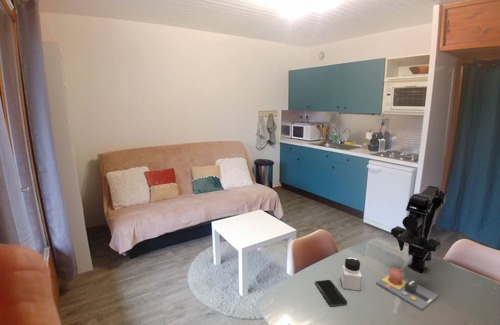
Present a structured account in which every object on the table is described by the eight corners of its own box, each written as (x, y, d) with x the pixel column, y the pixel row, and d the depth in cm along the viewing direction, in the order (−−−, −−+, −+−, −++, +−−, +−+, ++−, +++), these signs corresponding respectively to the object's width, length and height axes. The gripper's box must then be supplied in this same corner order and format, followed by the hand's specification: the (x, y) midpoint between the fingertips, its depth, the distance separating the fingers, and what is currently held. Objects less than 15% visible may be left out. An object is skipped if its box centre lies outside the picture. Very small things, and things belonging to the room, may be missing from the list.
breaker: (408, 286, 116) (410, 278, 115) (416, 290, 113) (417, 282, 113) (404, 289, 114) (405, 281, 113) (411, 293, 111) (413, 285, 111)
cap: (392, 276, 123) (393, 266, 122) (404, 282, 118) (405, 272, 117) (385, 280, 120) (387, 270, 119) (397, 286, 115) (399, 276, 114)
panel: (392, 273, 127) (393, 270, 126) (438, 297, 111) (438, 293, 111) (375, 283, 119) (376, 280, 119) (421, 311, 104) (422, 307, 103)
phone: (330, 305, 105) (314, 281, 119) (330, 308, 105) (314, 283, 119) (348, 303, 106) (330, 279, 121) (348, 305, 106) (330, 281, 121)
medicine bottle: (360, 291, 114) (363, 265, 112) (342, 288, 116) (345, 263, 113) (357, 280, 121) (359, 256, 119) (340, 278, 123) (343, 254, 120)
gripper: (386, 219, 120) (381, 251, 124) (432, 236, 105) (425, 271, 108) (399, 214, 126) (394, 244, 130) (444, 229, 111) (438, 263, 114)
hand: (411, 255), depth 120 cm, fingers open, 9 cm apart
